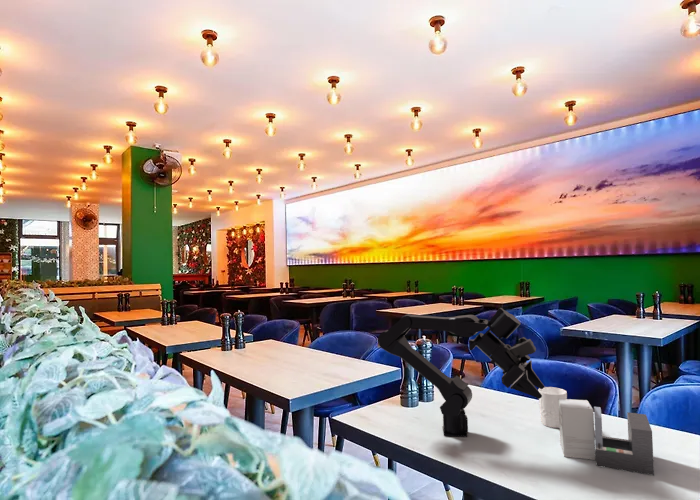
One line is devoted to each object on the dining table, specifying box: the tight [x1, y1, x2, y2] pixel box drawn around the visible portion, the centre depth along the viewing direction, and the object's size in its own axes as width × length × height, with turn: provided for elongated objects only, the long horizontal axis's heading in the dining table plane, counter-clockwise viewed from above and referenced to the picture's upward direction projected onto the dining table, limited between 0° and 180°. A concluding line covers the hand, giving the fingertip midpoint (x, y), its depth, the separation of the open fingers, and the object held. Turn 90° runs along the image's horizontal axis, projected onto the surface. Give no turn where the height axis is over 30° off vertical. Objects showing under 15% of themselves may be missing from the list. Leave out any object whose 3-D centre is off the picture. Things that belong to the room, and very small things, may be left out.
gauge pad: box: [593, 406, 603, 448], centre depth 110 cm, size 2×10×10 cm, turn 152°
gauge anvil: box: [595, 412, 655, 476], centre depth 108 cm, size 12×12×10 cm
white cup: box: [537, 386, 568, 429], centre depth 133 cm, size 8×8×10 cm
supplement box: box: [558, 398, 596, 461], centre depth 113 cm, size 7×7×13 cm
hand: (542, 392), depth 117 cm, fingers open, 9 cm apart
